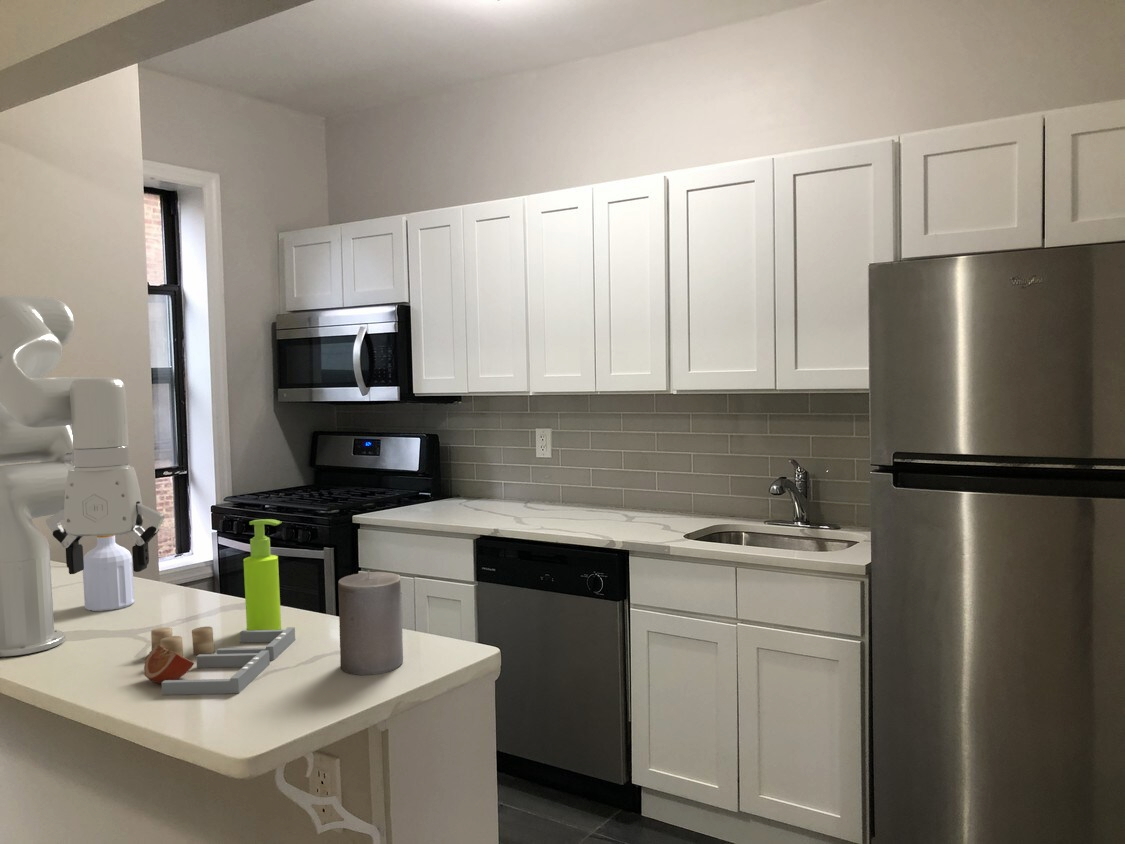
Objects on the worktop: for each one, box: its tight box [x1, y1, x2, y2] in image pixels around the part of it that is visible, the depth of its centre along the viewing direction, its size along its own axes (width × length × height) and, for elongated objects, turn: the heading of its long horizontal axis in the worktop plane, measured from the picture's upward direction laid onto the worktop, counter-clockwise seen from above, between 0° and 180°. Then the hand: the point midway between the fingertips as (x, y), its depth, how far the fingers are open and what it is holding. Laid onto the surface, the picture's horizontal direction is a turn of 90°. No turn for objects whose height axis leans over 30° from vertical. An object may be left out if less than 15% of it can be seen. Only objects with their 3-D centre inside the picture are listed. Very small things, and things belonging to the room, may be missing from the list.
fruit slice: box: [143, 644, 195, 684], centre depth 138 cm, size 8×7×5 cm
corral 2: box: [216, 626, 296, 661], centre depth 151 cm, size 9×11×2 cm
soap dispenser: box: [243, 518, 283, 631], centre depth 163 cm, size 6×7×20 cm
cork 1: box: [150, 627, 173, 650], centre depth 151 cm, size 3×3×4 cm
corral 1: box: [161, 650, 271, 696], centre depth 137 cm, size 11×13×2 cm
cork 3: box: [191, 626, 215, 657], centre depth 150 cm, size 3×3×4 cm
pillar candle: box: [337, 569, 404, 676], centre depth 142 cm, size 10×10×15 cm
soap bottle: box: [82, 535, 135, 612], centre depth 183 cm, size 9×9×25 cm
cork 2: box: [160, 635, 184, 657], centre depth 146 cm, size 3×3×4 cm
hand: (108, 571), depth 138 cm, fingers open, 9 cm apart
